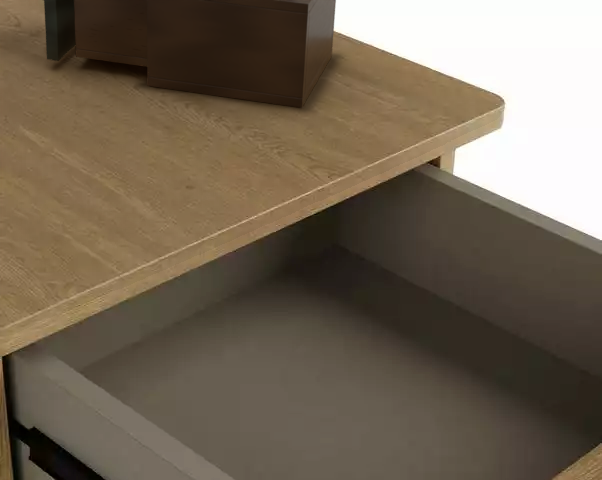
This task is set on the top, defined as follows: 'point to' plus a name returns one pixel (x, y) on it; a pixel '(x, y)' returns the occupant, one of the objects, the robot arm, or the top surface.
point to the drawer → (97, 29)
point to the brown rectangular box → (240, 47)
